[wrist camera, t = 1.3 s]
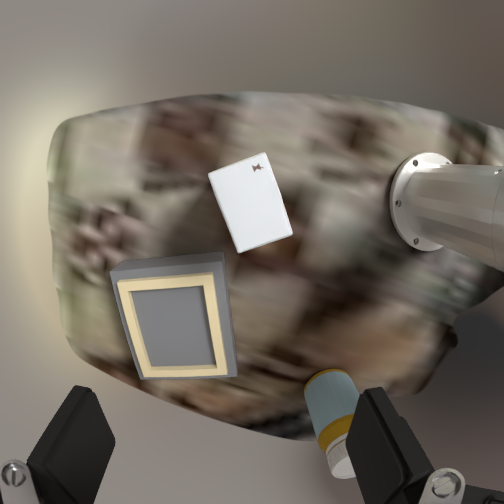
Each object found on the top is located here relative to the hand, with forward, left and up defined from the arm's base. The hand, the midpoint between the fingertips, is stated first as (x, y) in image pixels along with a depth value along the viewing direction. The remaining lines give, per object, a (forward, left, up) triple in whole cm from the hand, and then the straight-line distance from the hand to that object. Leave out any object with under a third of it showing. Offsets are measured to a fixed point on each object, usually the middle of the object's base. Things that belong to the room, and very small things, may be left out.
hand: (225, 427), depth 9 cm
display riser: (+7, +7, -24) cm, 26 cm away
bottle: (-11, +21, -25) cm, 34 cm away
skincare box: (-2, -6, -25) cm, 25 cm away
